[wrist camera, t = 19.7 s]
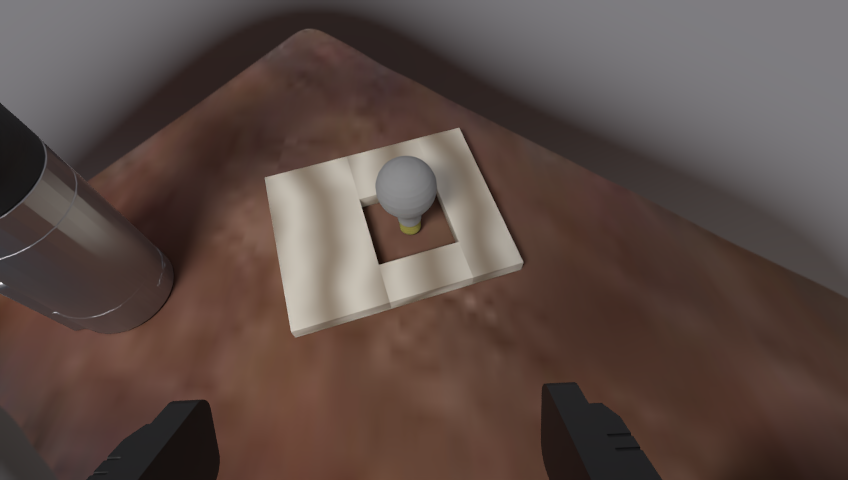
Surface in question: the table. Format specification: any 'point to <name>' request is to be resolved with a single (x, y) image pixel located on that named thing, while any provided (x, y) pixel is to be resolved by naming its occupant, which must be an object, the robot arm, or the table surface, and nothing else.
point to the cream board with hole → (351, 243)
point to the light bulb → (406, 190)
